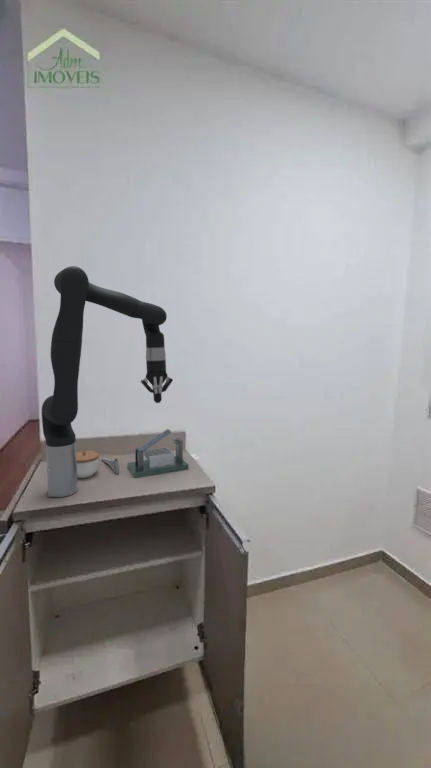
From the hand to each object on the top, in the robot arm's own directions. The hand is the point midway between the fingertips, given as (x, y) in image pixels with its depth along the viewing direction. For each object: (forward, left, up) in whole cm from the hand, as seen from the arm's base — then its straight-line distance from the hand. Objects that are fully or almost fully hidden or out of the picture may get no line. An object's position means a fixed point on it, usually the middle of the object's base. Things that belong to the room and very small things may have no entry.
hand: (157, 402), depth 139 cm
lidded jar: (-28, +5, -27) cm, 39 cm away
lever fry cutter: (-1, 0, -27) cm, 27 cm away
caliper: (-18, +10, -28) cm, 34 cm away
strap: (-1, 0, -16) cm, 16 cm away
